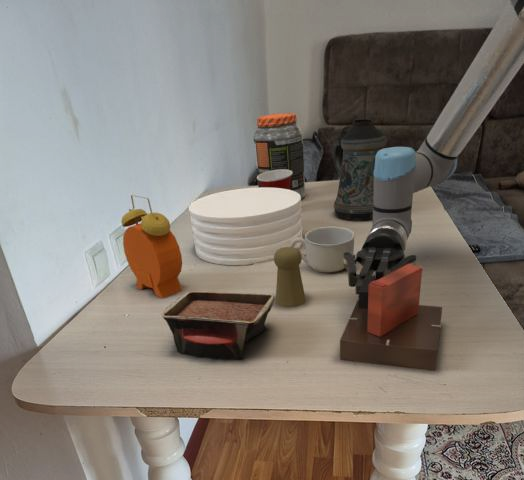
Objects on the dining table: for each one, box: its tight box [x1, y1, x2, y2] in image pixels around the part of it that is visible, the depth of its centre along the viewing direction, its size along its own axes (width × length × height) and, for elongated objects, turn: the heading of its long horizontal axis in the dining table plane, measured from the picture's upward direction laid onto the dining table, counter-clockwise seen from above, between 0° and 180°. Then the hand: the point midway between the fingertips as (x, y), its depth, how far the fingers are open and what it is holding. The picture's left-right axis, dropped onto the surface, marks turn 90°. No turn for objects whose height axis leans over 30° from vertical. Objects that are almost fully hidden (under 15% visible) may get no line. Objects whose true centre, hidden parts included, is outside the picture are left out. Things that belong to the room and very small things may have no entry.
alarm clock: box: [120, 194, 183, 299], centre depth 102 cm, size 13×6×20 cm, turn 45°
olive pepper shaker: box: [273, 247, 307, 308], centre depth 92 cm, size 6×6×11 cm
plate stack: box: [188, 187, 304, 266], centre depth 123 cm, size 28×28×12 cm
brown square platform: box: [339, 300, 443, 372], centre depth 77 cm, size 14×14×4 cm
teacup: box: [290, 225, 356, 274], centre depth 106 cm, size 14×11×8 cm
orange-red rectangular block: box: [367, 264, 423, 337], centre depth 74 cm, size 10×2×8 cm, turn 131°
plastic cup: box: [256, 169, 293, 190], centre depth 147 cm, size 11×11×12 cm
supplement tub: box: [253, 112, 306, 200], centre depth 158 cm, size 16×16×26 cm
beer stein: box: [332, 119, 388, 222], centre depth 135 cm, size 16×19×25 cm
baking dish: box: [161, 290, 275, 361], centre depth 82 cm, size 14×18×10 cm
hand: (363, 300), depth 73 cm, fingers closed
